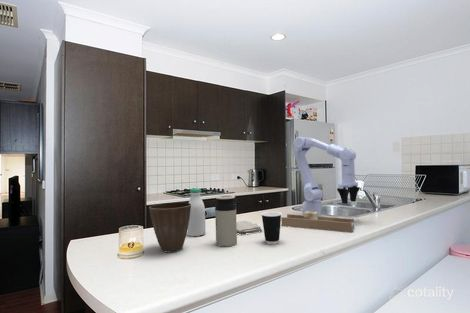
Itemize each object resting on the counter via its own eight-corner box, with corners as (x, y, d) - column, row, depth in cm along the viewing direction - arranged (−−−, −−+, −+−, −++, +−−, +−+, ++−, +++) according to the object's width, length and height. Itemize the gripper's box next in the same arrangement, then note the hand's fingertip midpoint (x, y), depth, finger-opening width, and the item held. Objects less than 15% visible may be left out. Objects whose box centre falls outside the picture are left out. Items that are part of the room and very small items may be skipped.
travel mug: (239, 241, 108) (238, 195, 109) (233, 247, 101) (232, 198, 101) (220, 240, 110) (218, 195, 111) (213, 246, 103) (211, 197, 103)
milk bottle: (207, 235, 118) (206, 188, 118) (189, 238, 115) (188, 189, 115) (202, 231, 125) (201, 187, 125) (186, 233, 122) (184, 188, 123)
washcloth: (241, 236, 116) (240, 229, 116) (222, 228, 132) (222, 222, 132) (264, 232, 122) (264, 225, 122) (243, 225, 138) (243, 219, 138)
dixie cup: (285, 244, 102) (284, 214, 103) (264, 246, 101) (263, 216, 101) (279, 238, 110) (278, 211, 110) (259, 240, 109) (258, 212, 109)
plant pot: (147, 257, 92) (146, 209, 92) (152, 245, 107) (151, 203, 107) (193, 253, 95) (191, 207, 95) (191, 241, 110) (190, 201, 110)
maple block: (304, 221, 128) (304, 213, 128) (307, 219, 133) (307, 211, 133) (315, 222, 126) (315, 213, 126) (317, 220, 130) (317, 211, 130)
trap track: (281, 225, 132) (281, 217, 132) (287, 222, 140) (287, 214, 140) (351, 232, 116) (351, 223, 116) (354, 227, 124) (353, 219, 124)
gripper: (348, 175, 126) (348, 205, 125) (363, 173, 135) (364, 201, 134) (334, 174, 131) (334, 203, 131) (350, 173, 140) (350, 200, 140)
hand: (349, 202), depth 133 cm, fingers open, 7 cm apart
